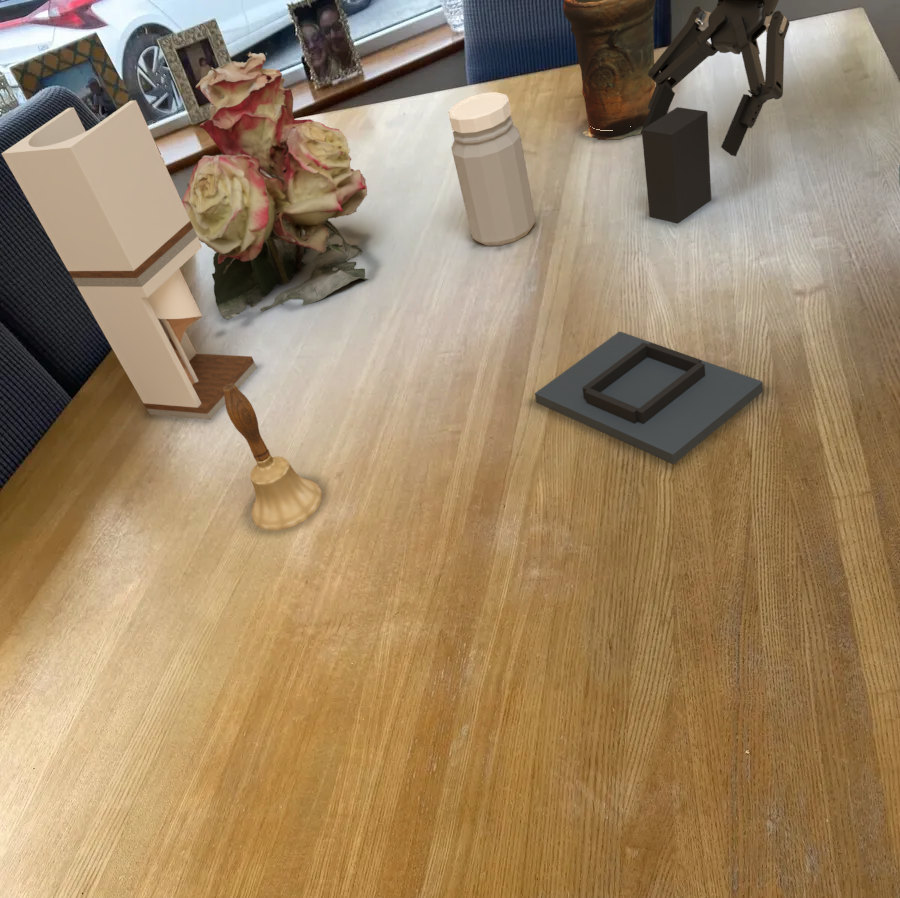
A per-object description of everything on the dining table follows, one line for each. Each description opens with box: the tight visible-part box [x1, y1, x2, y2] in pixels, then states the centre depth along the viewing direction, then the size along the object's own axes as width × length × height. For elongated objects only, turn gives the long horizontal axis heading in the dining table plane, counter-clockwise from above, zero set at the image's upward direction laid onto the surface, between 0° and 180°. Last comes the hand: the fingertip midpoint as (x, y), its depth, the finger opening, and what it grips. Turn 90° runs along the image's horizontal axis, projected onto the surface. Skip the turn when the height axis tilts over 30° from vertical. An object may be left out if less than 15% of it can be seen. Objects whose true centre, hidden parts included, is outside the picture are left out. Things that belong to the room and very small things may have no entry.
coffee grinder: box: [1, 99, 258, 421], centre depth 115 cm, size 11×11×35 cm
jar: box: [447, 91, 537, 247], centre depth 132 cm, size 10×10×18 cm
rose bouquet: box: [181, 51, 368, 320], centre depth 135 cm, size 26×29×30 cm
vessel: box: [562, 0, 657, 141], centre depth 148 cm, size 14×14×20 cm
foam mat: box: [534, 331, 764, 465], centre depth 102 cm, size 20×14×3 cm
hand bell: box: [223, 383, 323, 531], centre depth 99 cm, size 8×8×16 cm
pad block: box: [641, 106, 712, 224], centre depth 126 cm, size 5×7×12 cm
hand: (686, 144), depth 125 cm, fingers open, 13 cm apart
